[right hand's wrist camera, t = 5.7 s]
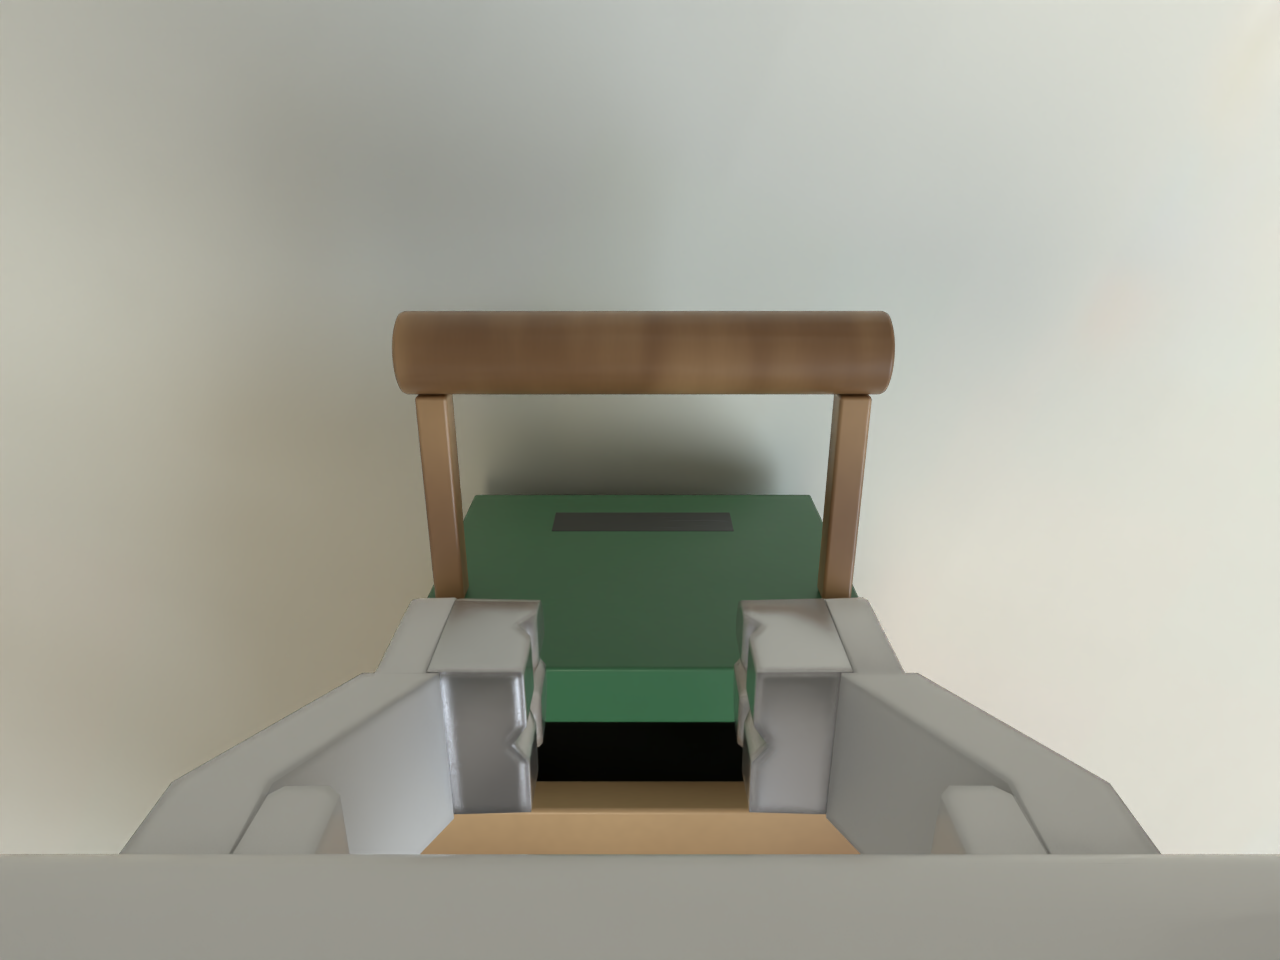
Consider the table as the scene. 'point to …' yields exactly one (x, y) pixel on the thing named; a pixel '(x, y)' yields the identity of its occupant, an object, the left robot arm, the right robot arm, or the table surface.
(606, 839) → the tan storage bin
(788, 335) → the drawer
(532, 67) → the table surface
